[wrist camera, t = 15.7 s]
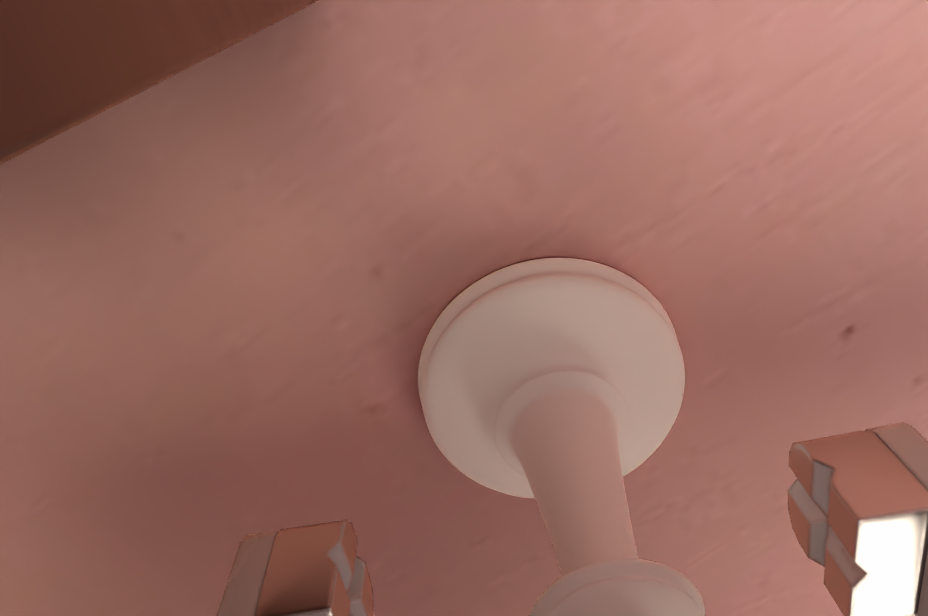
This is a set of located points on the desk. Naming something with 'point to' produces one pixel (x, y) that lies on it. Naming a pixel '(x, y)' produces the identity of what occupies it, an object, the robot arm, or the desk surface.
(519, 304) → the chess piece
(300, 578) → the robot arm
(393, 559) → the desk surface
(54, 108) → the chest
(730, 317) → the desk surface
